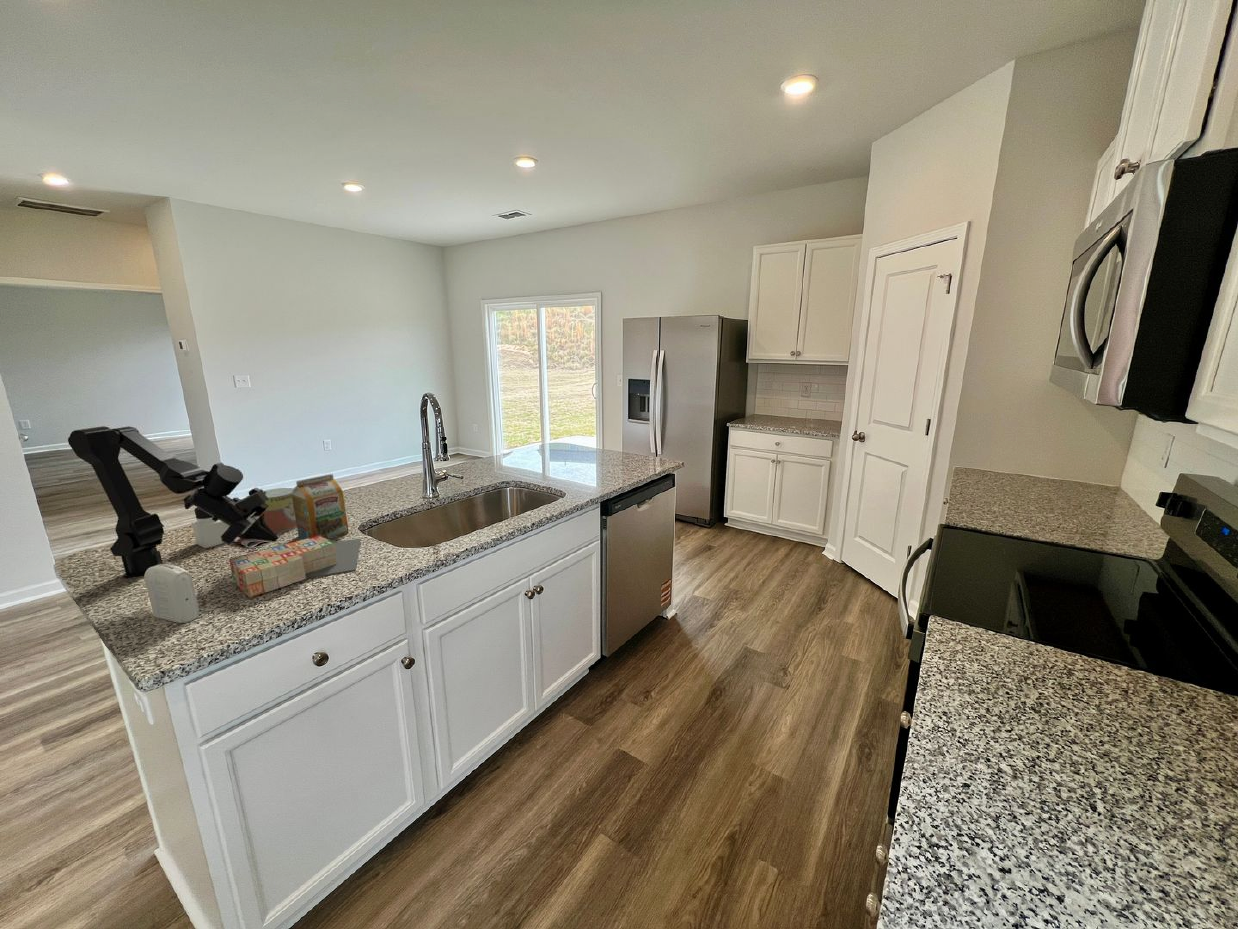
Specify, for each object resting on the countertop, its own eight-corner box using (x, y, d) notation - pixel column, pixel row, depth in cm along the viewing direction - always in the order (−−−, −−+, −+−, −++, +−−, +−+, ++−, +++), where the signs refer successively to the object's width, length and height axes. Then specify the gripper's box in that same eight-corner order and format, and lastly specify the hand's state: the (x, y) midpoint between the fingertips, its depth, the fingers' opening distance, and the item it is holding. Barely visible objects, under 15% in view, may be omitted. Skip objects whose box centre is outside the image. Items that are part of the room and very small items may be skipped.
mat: (285, 582, 125) (285, 581, 125) (300, 548, 146) (300, 547, 146) (356, 570, 132) (355, 569, 132) (360, 539, 153) (360, 538, 153)
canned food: (285, 533, 159) (279, 497, 156) (251, 533, 159) (244, 498, 156) (307, 521, 169) (302, 487, 167) (275, 521, 170) (269, 488, 167)
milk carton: (333, 526, 164) (324, 471, 160) (348, 533, 158) (340, 476, 154) (298, 536, 156) (288, 478, 152) (313, 543, 150) (303, 483, 146)
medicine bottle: (233, 541, 153) (225, 504, 150) (205, 548, 147) (196, 510, 144) (223, 536, 156) (216, 500, 153) (195, 543, 150) (187, 506, 148)
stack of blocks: (320, 534, 139) (340, 546, 132) (322, 554, 140) (343, 567, 133) (228, 558, 122) (245, 574, 115) (231, 581, 124) (249, 598, 117)
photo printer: (204, 615, 110) (192, 564, 107) (182, 625, 106) (169, 573, 103) (172, 608, 113) (160, 558, 110) (150, 618, 109) (137, 566, 106)
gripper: (227, 492, 119) (287, 529, 125) (254, 473, 136) (306, 507, 142) (194, 527, 118) (256, 562, 124) (225, 504, 135) (279, 536, 141)
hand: (276, 540), depth 133 cm, fingers closed
